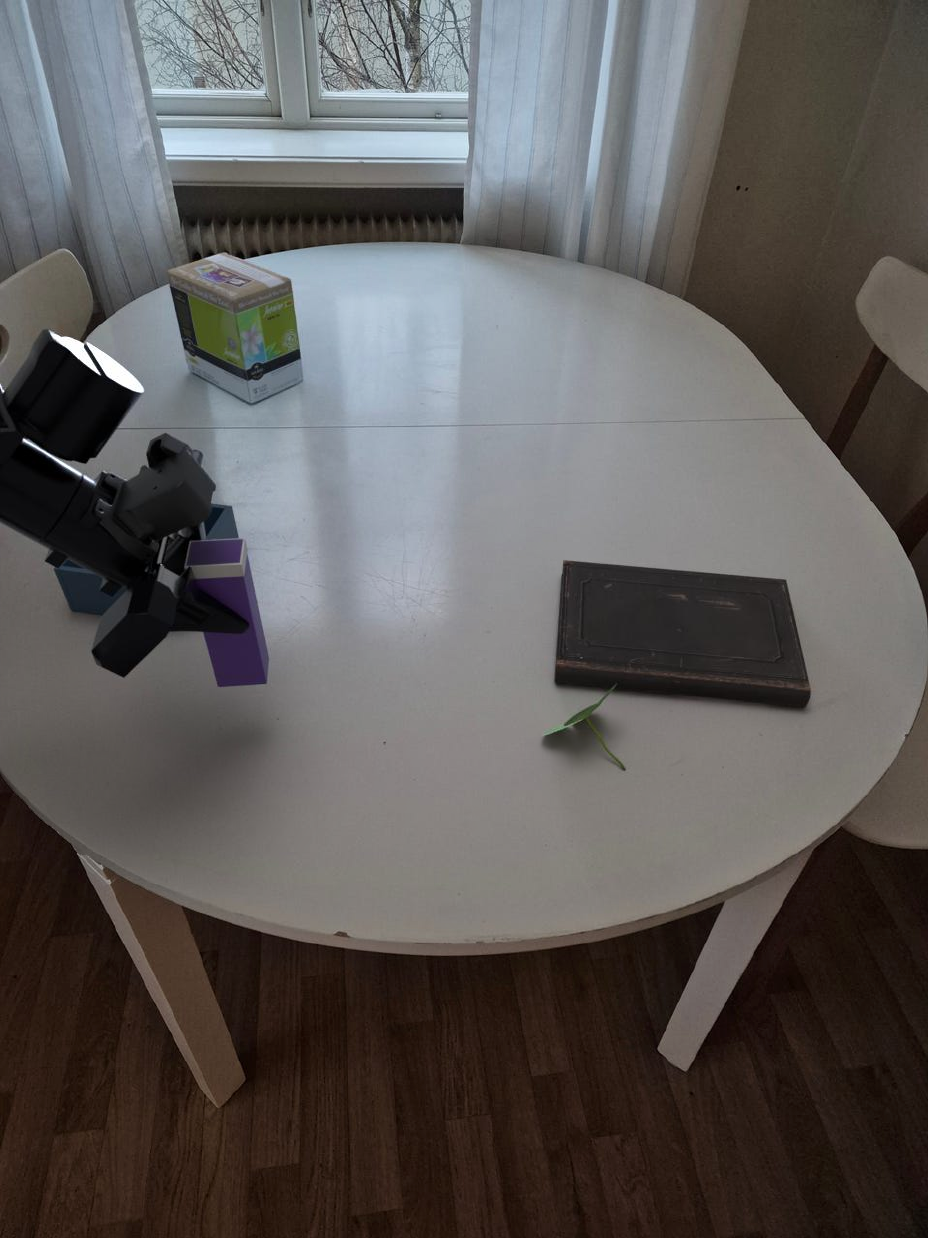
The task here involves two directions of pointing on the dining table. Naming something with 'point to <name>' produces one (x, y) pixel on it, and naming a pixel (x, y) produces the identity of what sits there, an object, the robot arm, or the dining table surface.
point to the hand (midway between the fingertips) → (247, 614)
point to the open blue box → (86, 585)
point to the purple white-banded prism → (231, 583)
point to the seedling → (585, 714)
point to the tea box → (237, 325)
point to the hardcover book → (679, 634)
